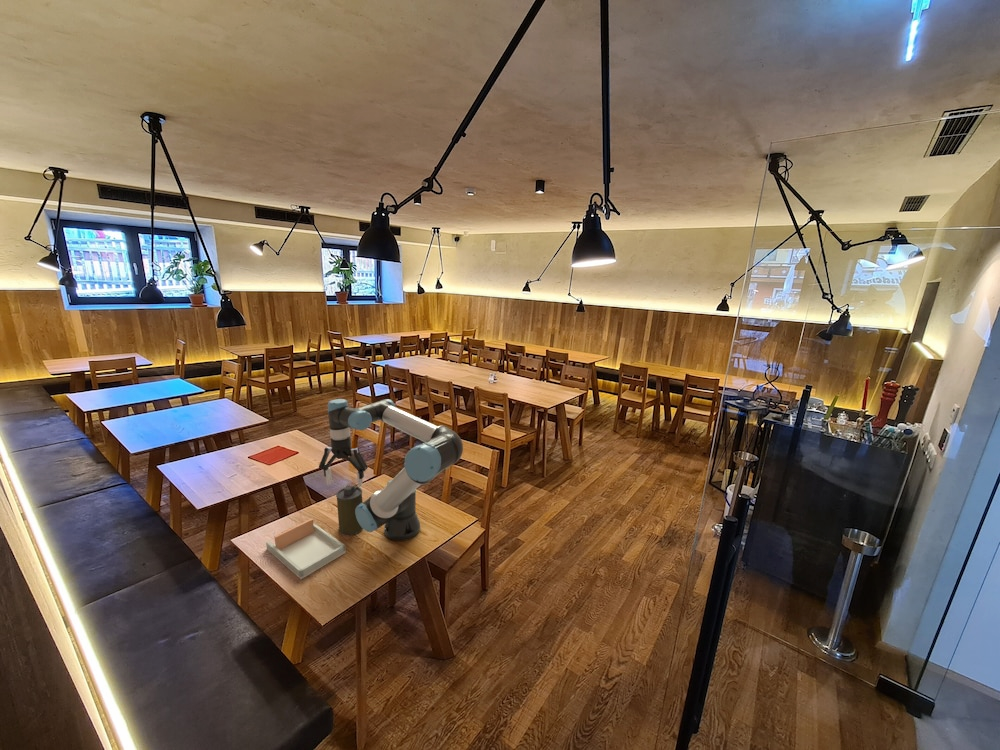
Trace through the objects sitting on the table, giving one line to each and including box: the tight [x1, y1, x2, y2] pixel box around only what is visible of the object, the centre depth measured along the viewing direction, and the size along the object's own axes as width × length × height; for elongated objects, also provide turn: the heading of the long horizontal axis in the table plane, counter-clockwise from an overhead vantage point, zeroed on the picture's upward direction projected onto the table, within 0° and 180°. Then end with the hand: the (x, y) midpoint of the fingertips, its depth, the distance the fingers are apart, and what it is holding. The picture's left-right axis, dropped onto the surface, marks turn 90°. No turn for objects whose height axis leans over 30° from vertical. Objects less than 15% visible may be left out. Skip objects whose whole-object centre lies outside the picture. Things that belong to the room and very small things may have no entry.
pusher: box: [274, 517, 315, 550], centre depth 159 cm, size 7×15×6 cm, turn 144°
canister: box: [335, 484, 364, 537], centre depth 166 cm, size 11×10×20 cm
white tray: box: [265, 522, 347, 580], centre depth 153 cm, size 26×18×3 cm
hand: (344, 484), depth 161 cm, fingers open, 13 cm apart
